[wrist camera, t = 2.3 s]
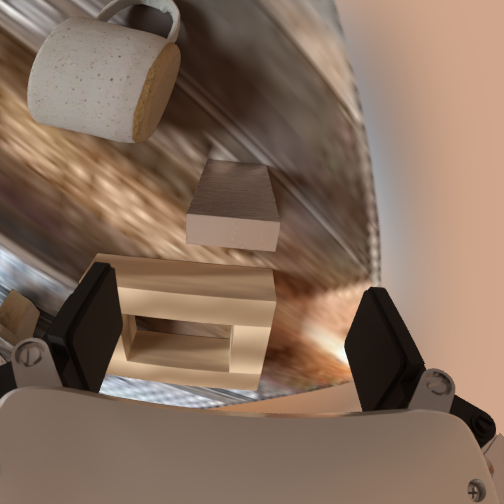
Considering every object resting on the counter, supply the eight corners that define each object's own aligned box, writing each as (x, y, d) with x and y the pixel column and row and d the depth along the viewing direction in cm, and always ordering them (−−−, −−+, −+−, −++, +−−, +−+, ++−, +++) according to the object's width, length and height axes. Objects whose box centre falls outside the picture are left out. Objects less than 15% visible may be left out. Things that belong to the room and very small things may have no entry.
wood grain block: (207, 159, 23) (186, 213, 15) (266, 165, 24) (280, 222, 15) (204, 212, 26) (185, 289, 17) (258, 217, 26) (267, 295, 17)
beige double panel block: (109, 332, 38) (73, 322, 24) (85, 390, 35) (41, 407, 21) (16, 277, 37) (-40, 245, 23) (-6, 331, 34) (-68, 318, 20)
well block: (97, 253, 27) (79, 281, 23) (272, 268, 29) (276, 301, 25) (115, 343, 33) (104, 373, 30) (255, 357, 35) (256, 390, 31)
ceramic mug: (161, 138, 22) (129, 164, 16) (69, 114, 21) (13, 132, 14) (210, 8, 18) (197, -24, 11) (110, -11, 16) (63, -37, 9)
